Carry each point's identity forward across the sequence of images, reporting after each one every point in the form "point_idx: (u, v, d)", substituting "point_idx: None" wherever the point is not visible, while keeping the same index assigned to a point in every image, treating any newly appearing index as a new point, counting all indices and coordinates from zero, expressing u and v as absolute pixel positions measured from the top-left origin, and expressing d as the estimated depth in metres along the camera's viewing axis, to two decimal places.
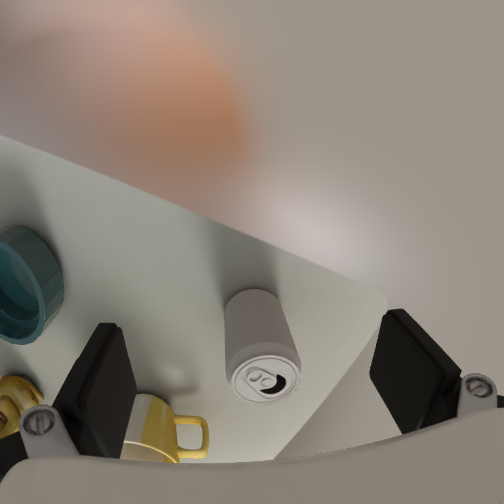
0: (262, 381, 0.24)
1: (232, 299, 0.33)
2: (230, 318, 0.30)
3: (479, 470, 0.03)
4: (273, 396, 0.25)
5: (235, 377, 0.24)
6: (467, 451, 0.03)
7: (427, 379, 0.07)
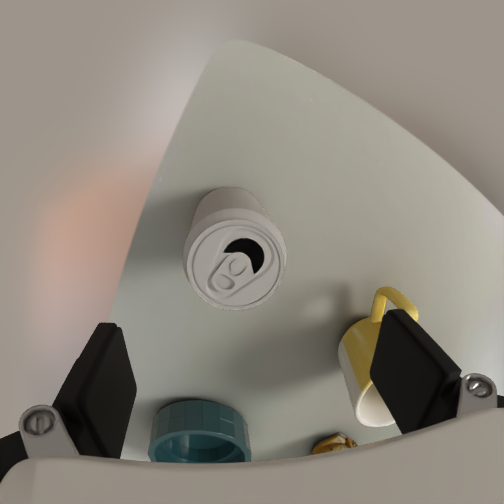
0: (236, 271, 0.18)
1: None
2: None
3: (479, 470, 0.03)
4: (269, 254, 0.18)
5: (227, 304, 0.19)
6: (467, 451, 0.03)
7: (427, 379, 0.07)
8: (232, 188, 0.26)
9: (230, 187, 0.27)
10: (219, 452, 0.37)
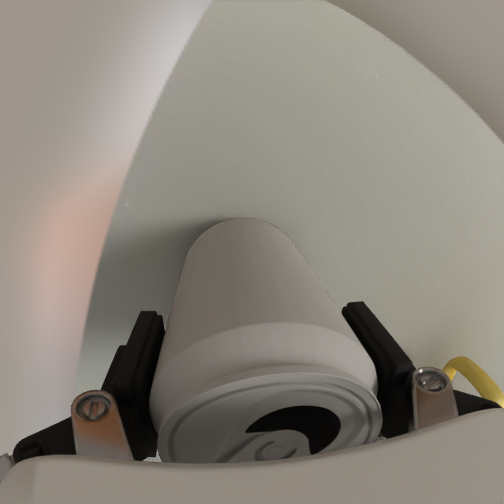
0: (272, 457, 0.07)
1: None
2: None
3: (479, 470, 0.03)
4: (352, 424, 0.07)
5: None
6: (467, 451, 0.03)
7: (378, 370, 0.08)
8: (250, 223, 0.15)
9: (246, 220, 0.15)
10: None
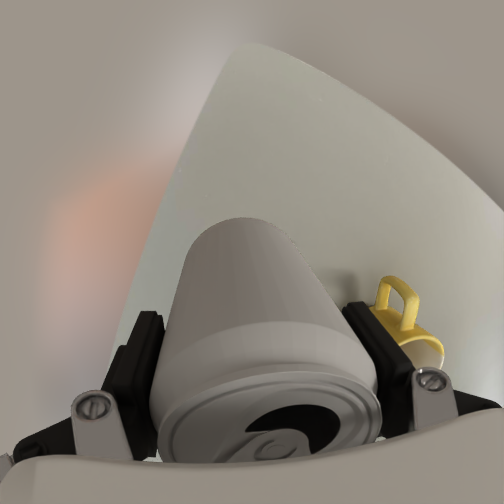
0: (272, 456, 0.07)
1: None
2: None
3: (479, 470, 0.03)
4: (352, 423, 0.07)
5: None
6: (467, 451, 0.03)
7: (378, 370, 0.08)
8: (250, 223, 0.15)
9: (246, 220, 0.15)
10: None
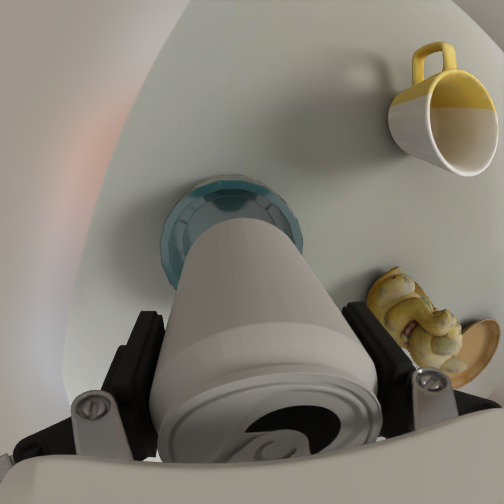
0: (272, 457, 0.07)
1: None
2: None
3: (479, 470, 0.03)
4: (352, 423, 0.07)
5: None
6: (467, 451, 0.03)
7: (378, 370, 0.08)
8: (250, 223, 0.15)
9: (246, 220, 0.15)
10: None
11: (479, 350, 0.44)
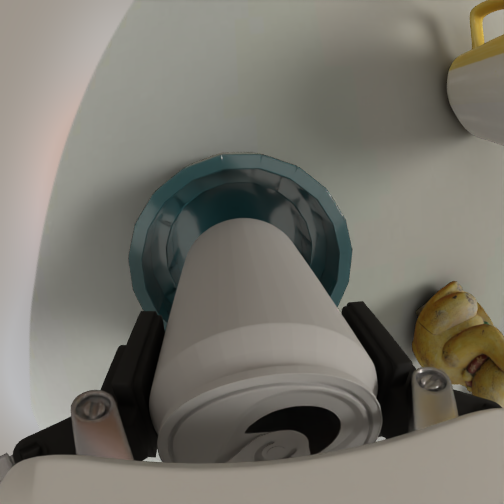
0: (272, 457, 0.07)
1: None
2: None
3: (479, 470, 0.03)
4: (352, 424, 0.07)
5: None
6: (467, 451, 0.03)
7: (378, 370, 0.08)
8: (250, 223, 0.15)
9: (246, 220, 0.15)
10: None
11: None
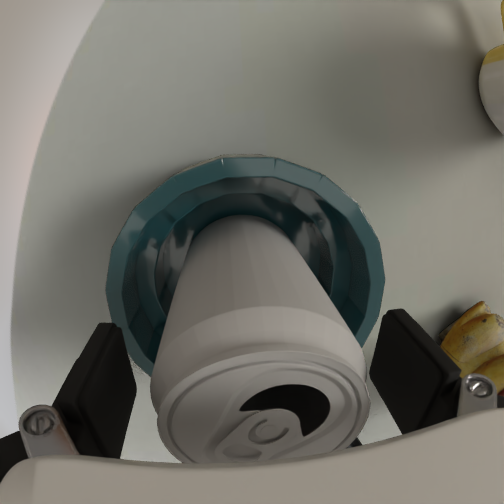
0: (266, 437, 0.07)
1: None
2: None
3: (479, 470, 0.03)
4: (341, 405, 0.07)
5: None
6: (467, 451, 0.03)
7: (427, 379, 0.07)
8: (248, 220, 0.15)
9: (244, 217, 0.16)
10: None
11: None
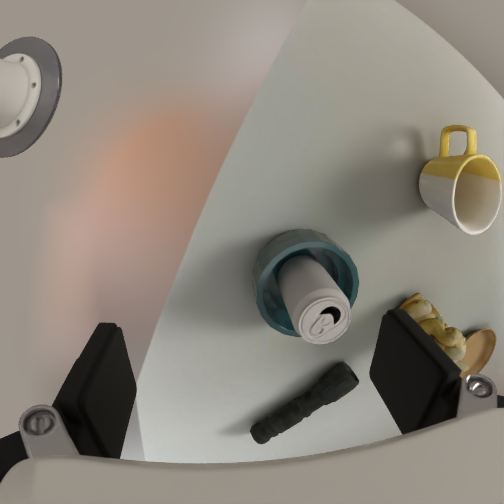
0: (325, 323, 0.31)
1: None
2: None
3: (479, 470, 0.03)
4: (343, 313, 0.31)
5: (317, 341, 0.32)
6: (467, 451, 0.03)
7: (427, 379, 0.07)
8: (306, 258, 0.39)
9: (304, 256, 0.40)
10: None
11: (479, 353, 0.54)
